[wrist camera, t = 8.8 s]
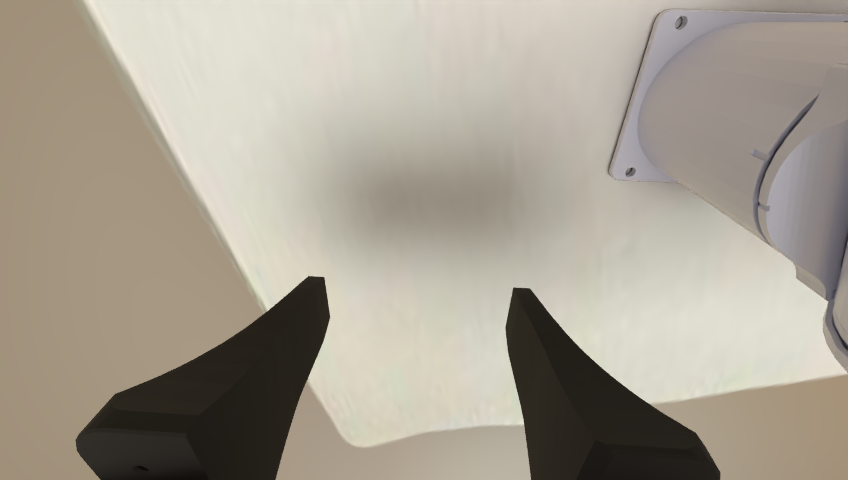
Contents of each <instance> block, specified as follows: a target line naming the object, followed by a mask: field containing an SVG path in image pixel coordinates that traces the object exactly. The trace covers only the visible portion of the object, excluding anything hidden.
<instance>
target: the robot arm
mask: <svg viewBox="0 0 848 480" xmlns="http://www.w3.org/2000/svg"><path fill="white" fill-rule="evenodd" d="M680 16H681V17H682V19H683V23H682V25H681V26H680V27H679V28H678V29H676V27H675V22H676V20H677V19H678V18H679V17H680ZM629 168H632V171H631V172H630V173H629V174H625V172H626V170H627V169H629ZM609 173H610V176H612V177H613V178H614V179H616V180H627V181H649V182H672V183H680V184H682V185H683V186H685V187H686V188H688V189H689V190H691V191H692V192H693V193H695V194H696V195H698V196H699V197H701V198H702V199H704V200H705V201H706V202H708V203H709V204H711V205H712V206H714V207H715V208H717V209H718V210H719V211H721V212H722V213H724V214H725V215H727V216H728V217H730V218H731V219H732V220H734V221H735V222H737V223H738V224H740V225H741V226H743V227H744V228H745V229H747V230H748V231H750V232H751V233H753V234H754V235H756V236H757V237H758V238H760V239H761V240H763V241H764V242H766V243H767V244H769V245H770V246H771V247H773V248H774V249H775V250H777V251H778V252H780V253H781V254H782V255H784V256H785V257H787V258H788V259H789V260H791V261H792V262H793V264H794V265H795V268H796V278H797V279H798V280H799V281H801V282H802V283H803V284H805V285H806V286H808V287H809V288H810V289H812V290H813V291H814V292H816V293H817V294H818V295H820V296H821V297H823V298H824V299H825V300H827V301H829V302H828V305H827V308H826V311H825V315H824V318H823V333H824V336H825V339H826V343H827V345H828V347H829V349H830V350H831V352H832V354H833V355H834V357H835V359H836V360H837V361H838V362H839V363H840V364H841V365H842V367H843V368H844V369H845V370H846V371H847V372H848V14H821V13H787V12H753V11H719V10H685V9H669V10H665V11H663V12H662V13H660V14H659V15H658V17H657V18H656V20H655V22H654V26H653V29H652V32H651V35H650V39H649V42H648V45H647V48H646V52H645V55H644V58H643V62H642V65H641V68H640V71H639V75H638V78H637V81H636V84H635V88H634V91H633V94H632V97H631V101H630V104H629V107H628V110H627V114H626V117H625V120H624V123H623V127H622V130H621V133H620V136H619V140H618V143H617V146H616V150H615V153H614V156H613V159H612V163H611V166H610V169H609ZM329 319H330V313H329V306H328V299H327V293H326V286H325V279H324V277H313V276H308V277H307V278H306V279H305V280H304V281H302V282H301V283H300V284H299V285H298V286H297V287H296V288H294V289H293V290H292V291H291V292H290V293H289V294H288V295H286V296H285V297H284V298H283V299H282V300H281V301H279V302H278V303H277V304H276V305H275V306H273V307H272V308H271V309H270V310H269V311H267V312H266V313H265V314H263V315H262V316H261V317H259V318H258V319H257V320H256V321H254V322H253V323H252V324H250V325H249V326H248V327H246V328H245V329H244V330H242V331H240V332H239V333H237V334H236V335H234V336H233V337H231V338H230V339H228V340H227V341H225V342H224V343H222V344H220V345H218V346H217V347H215V348H213V349H211V350H210V351H208V352H206V353H204V354H203V355H201V356H199V357H197V358H196V359H194V360H192V361H190V362H188V363H186V364H184V365H182V366H180V367H178V368H176V369H173V370H171V371H169V372H167V373H165V374H163V375H161V376H158V377H156V378H154V379H151V380H149V381H147V382H144V383H142V384H139V385H137V386H134V387H132V388H130V389H127V390H125V391H122V392H120V393H117V394H115V395H114V396H113V397H112V398H111V399H110V400H109V401H108V402H107V404H106V405H105V406H104V407H103V408H102V409H101V410H100V411H99V413H98V414H97V415H96V416H95V417H94V418H93V419H92V420H91V421H90V423H89V424H88V425H87V426H86V427H85V428H84V429H83V431H81V433H80V434H79V435H78V437H77V439H76V447H77V451H78V453H79V454H80V456H81V457H82V458H83V460H84V461H85V462H86V463H87V464H88V465H89V467H90V468H91V469H92V470H93V471H94V472H95V474H96V475H97V476H98V477H99V478H100V479H101V480H275V479H276V475H277V471H278V468H279V464H280V460H281V457H282V453H283V450H284V446H285V442H286V439H287V436H288V432H289V429H290V426H291V423H292V419H293V416H294V413H295V410H296V407H297V404H298V401H299V398H300V395H301V393H302V391H303V388H304V386H305V383H306V381H307V379H308V376H309V374H310V372H311V369H312V367H313V365H314V362H315V360H316V358H317V355H318V353H319V351H320V348H321V346H322V343H323V341H324V337H325V334H326V331H327V327H328V323H329ZM506 337H507V346H508V353H509V358H510V362H511V367H512V371H513V375H514V379H515V383H516V388H517V392H518V396H519V400H520V404H521V409H522V414H523V419H524V426H525V433H526V441H527V448H528V457H529V464H530V473H531V480H720V471H719V470H718V468H717V466H716V465H715V463H714V461H713V459H712V458H711V456H710V454H709V452H708V451H707V449H706V447H705V446H704V444H703V443H702V441H701V440H700V438H699V437H698V436H697V434H696V433H695V432H693V431H692V430H690V429H688V428H687V427H685V426H683V425H682V424H680V423H678V422H677V421H675V420H673V419H672V418H670V417H668V416H667V415H665V414H663V413H662V412H660V411H659V410H657V409H656V408H654V407H653V406H651V405H650V404H648V403H647V402H645V401H644V400H642V399H641V398H639V397H638V396H637V395H635V394H634V393H633V392H631V391H630V390H628V389H627V388H626V387H625V386H623V385H622V384H621V383H619V382H618V381H617V380H616V379H614V378H613V377H612V376H610V375H609V374H608V373H607V372H606V371H604V370H603V369H602V368H601V367H600V366H599V365H598V364H597V363H595V362H594V361H593V360H592V359H591V358H590V357H589V356H588V355H587V354H586V353H585V352H584V351H582V350H581V349H580V348H579V347H578V345H577V344H576V343H575V342H574V341H573V340H572V339H571V338H570V337H569V336H568V335H567V334H566V333H565V331H564V330H563V329H562V328H561V327H560V326H559V324H558V323H557V322H556V321H555V320H554V319H553V317H552V316H551V315H550V314H549V312H548V311H547V310H546V309H545V307H544V306H543V305H542V303H541V302H540V301H539V300H538V298H537V297H536V296H535V294H534V293H533V292H532V291H531V289H529V288H513V292H512V297H511V303H510V308H509V313H508V318H507V323H506Z"/></svg>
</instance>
